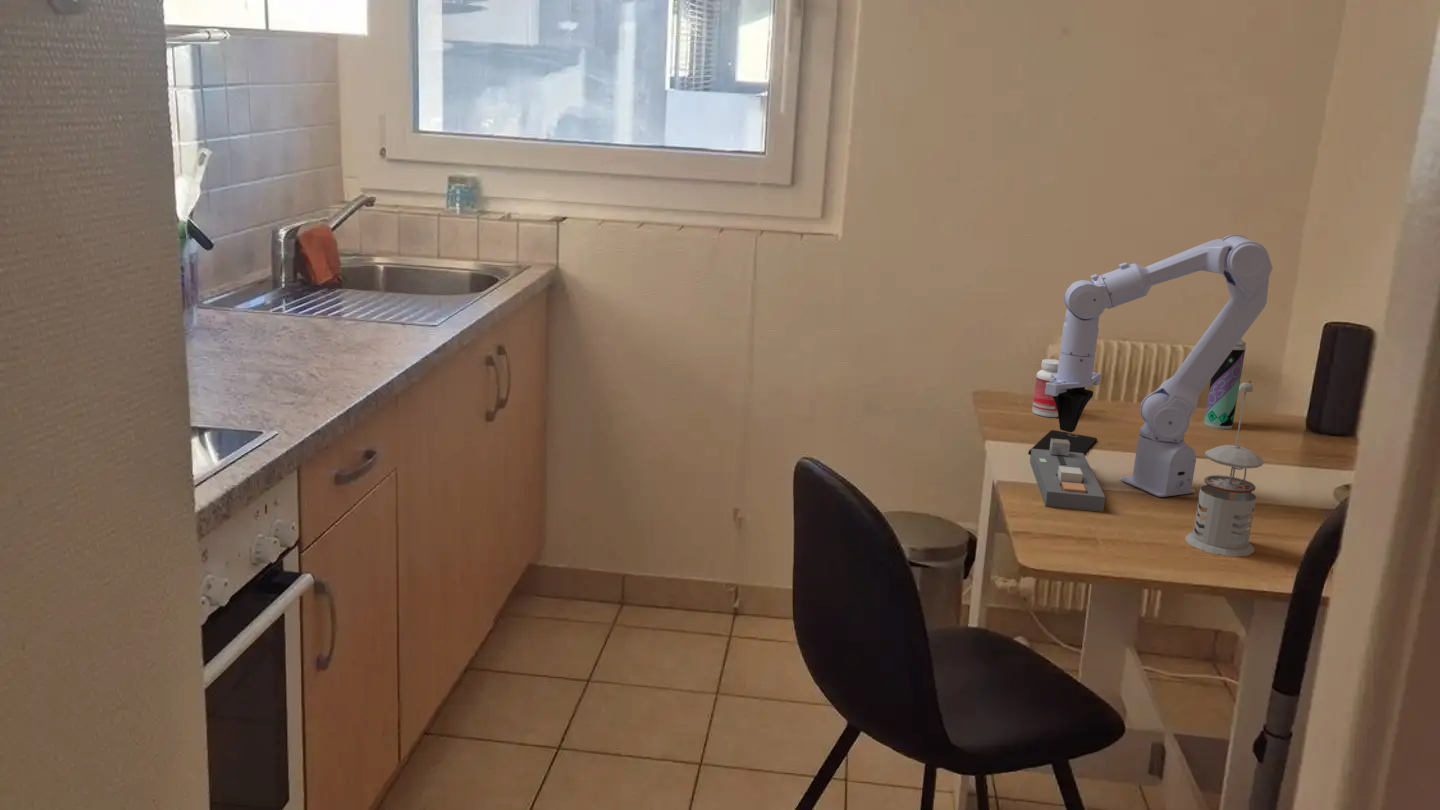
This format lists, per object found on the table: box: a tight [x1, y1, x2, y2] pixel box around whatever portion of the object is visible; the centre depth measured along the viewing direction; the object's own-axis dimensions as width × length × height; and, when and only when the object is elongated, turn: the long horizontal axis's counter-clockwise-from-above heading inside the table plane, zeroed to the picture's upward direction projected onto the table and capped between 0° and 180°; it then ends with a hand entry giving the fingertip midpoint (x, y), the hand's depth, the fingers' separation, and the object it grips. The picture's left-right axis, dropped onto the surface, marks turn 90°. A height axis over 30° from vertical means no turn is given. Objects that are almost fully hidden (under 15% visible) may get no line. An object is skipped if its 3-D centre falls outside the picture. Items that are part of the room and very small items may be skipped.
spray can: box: [1203, 338, 1247, 430], centre depth 252 cm, size 6×6×20 cm
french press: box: [1185, 382, 1265, 558], centre depth 185 cm, size 10×12×25 cm
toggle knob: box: [1049, 438, 1070, 456], centre depth 220 cm, size 2×3×2 cm
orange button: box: [1061, 482, 1086, 493], centre depth 202 cm, size 3×3×2 cm
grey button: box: [1057, 466, 1083, 483], centre depth 206 cm, size 3×3×2 cm
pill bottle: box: [1031, 358, 1059, 418], centre depth 255 cm, size 6×6×11 cm
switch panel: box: [1029, 448, 1106, 513], centre depth 211 cm, size 24×9×3 cm, turn 172°
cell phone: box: [1027, 429, 1098, 456], centre depth 233 cm, size 9×18×1 cm, turn 152°
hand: (1067, 430), depth 213 cm, fingers closed
